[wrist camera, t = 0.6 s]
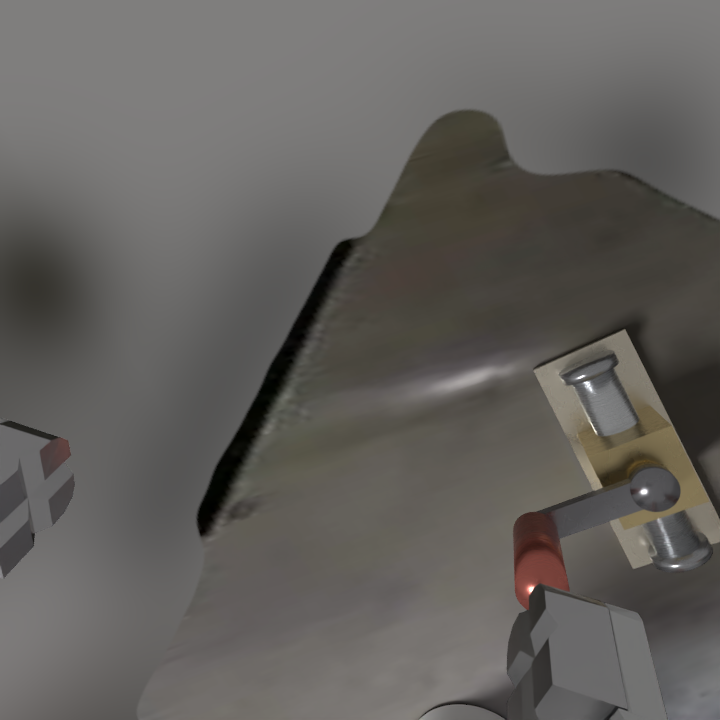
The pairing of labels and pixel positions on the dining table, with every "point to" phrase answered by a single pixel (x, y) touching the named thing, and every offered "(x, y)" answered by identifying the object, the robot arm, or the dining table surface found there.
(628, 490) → the lever
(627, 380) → the pipe valve
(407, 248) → the dining table surface
